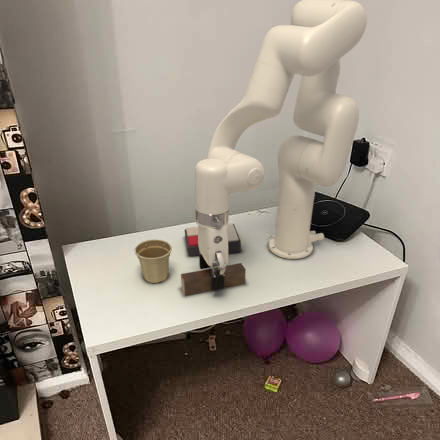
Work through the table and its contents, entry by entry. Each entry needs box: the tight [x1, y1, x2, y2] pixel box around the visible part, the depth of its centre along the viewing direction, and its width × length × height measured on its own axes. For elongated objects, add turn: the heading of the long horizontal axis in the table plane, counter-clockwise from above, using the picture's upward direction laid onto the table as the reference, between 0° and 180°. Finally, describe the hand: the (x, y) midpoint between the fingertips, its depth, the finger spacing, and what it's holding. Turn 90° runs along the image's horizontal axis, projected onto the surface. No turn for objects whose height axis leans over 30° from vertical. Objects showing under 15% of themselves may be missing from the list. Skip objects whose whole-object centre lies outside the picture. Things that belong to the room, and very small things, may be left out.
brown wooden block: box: [180, 262, 247, 297], centre depth 110 cm, size 16×3×5 cm, turn 108°
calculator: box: [184, 222, 242, 257], centre depth 127 cm, size 11×4×15 cm
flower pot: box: [133, 239, 173, 284], centre depth 113 cm, size 9×9×9 cm
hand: (211, 277), depth 109 cm, fingers open, 9 cm apart
